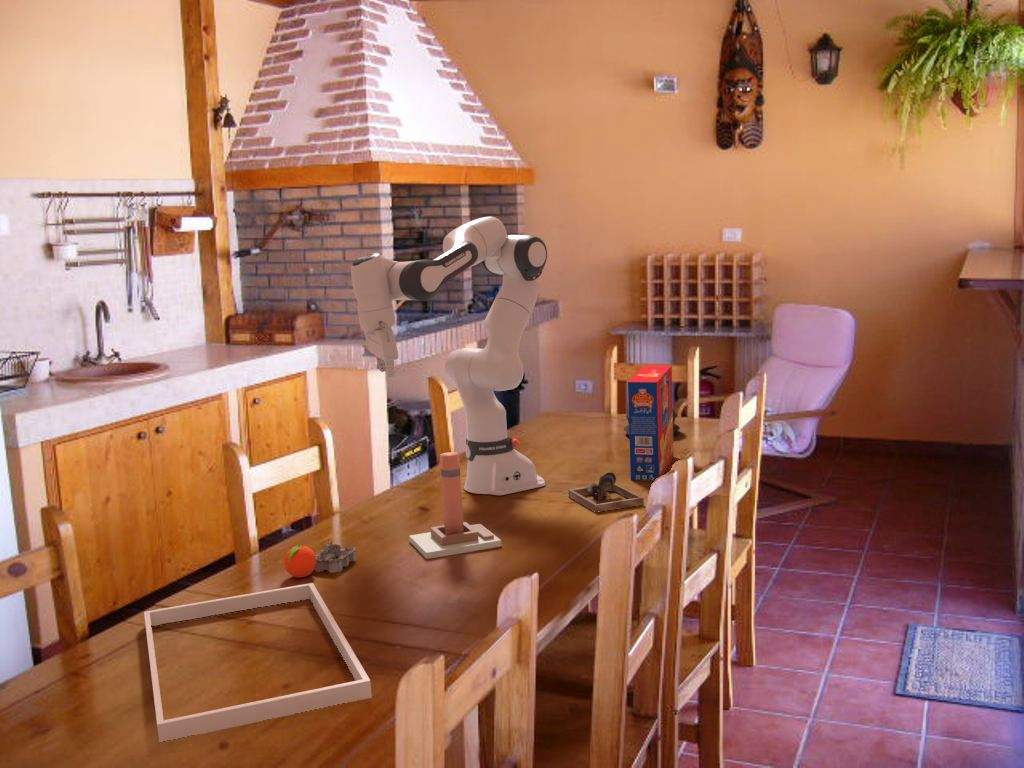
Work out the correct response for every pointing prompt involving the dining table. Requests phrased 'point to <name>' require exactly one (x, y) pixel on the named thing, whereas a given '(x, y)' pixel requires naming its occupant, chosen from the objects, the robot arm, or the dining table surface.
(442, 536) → the cradle jig
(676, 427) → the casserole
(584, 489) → the figurine display rim
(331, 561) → the grey castle model
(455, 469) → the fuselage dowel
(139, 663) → the dining table surface
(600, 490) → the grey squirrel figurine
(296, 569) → the clementine
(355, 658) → the frame
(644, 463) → the blue cardboard box
